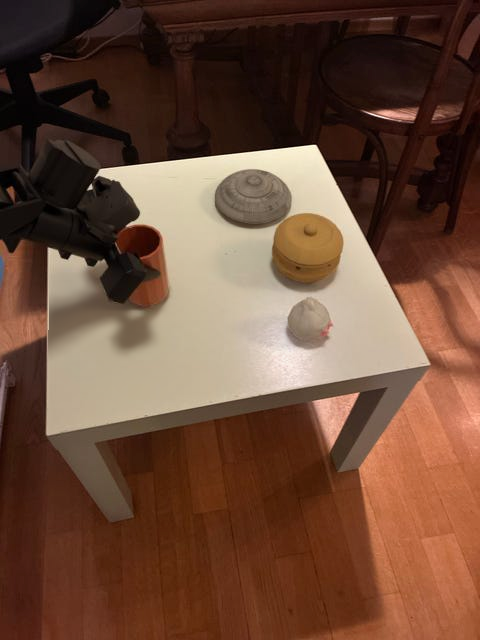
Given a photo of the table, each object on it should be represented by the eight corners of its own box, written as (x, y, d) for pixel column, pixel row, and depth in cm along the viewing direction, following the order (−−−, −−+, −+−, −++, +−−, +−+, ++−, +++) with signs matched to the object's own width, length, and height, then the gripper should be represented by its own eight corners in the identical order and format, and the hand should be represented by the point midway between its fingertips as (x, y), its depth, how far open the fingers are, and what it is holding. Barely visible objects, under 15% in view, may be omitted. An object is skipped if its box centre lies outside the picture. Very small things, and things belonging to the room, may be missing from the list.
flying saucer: (252, 168, 101) (253, 145, 97) (306, 203, 95) (310, 181, 91) (198, 200, 95) (197, 178, 91) (253, 241, 89) (254, 218, 85)
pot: (343, 253, 88) (355, 211, 80) (326, 300, 81) (337, 260, 73) (282, 235, 90) (288, 193, 82) (260, 280, 84) (264, 239, 76)
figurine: (318, 357, 75) (326, 328, 69) (278, 336, 77) (283, 306, 70) (335, 327, 78) (345, 297, 72) (297, 309, 80) (304, 277, 74)
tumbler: (123, 306, 78) (110, 259, 69) (127, 272, 82) (115, 224, 73) (168, 305, 78) (160, 259, 70) (170, 271, 83) (163, 224, 74)
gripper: (117, 228, 56) (207, 262, 68) (72, 140, 65) (158, 183, 77) (67, 294, 60) (160, 315, 72) (31, 202, 69) (119, 234, 81)
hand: (150, 258), depth 75 cm, fingers closed on tumbler, 7 cm apart
